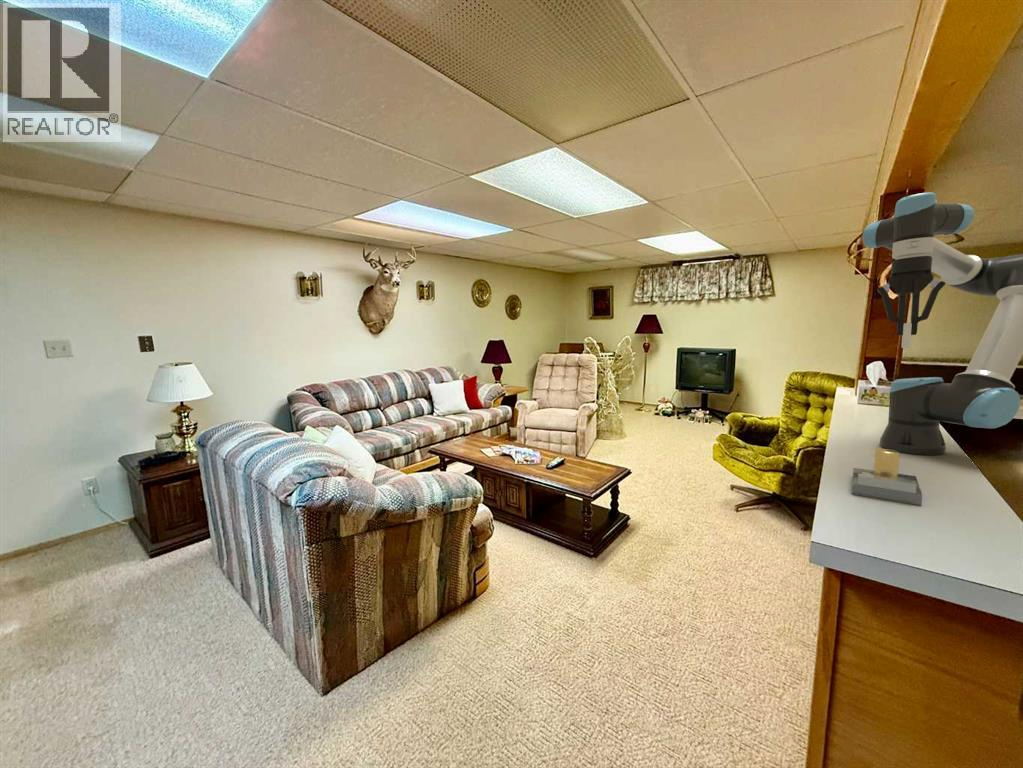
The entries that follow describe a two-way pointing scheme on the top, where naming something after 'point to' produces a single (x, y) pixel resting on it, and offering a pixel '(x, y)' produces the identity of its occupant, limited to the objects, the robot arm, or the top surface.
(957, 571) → the top surface
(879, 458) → the brass rounded cylinder
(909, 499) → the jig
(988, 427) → the robot arm
